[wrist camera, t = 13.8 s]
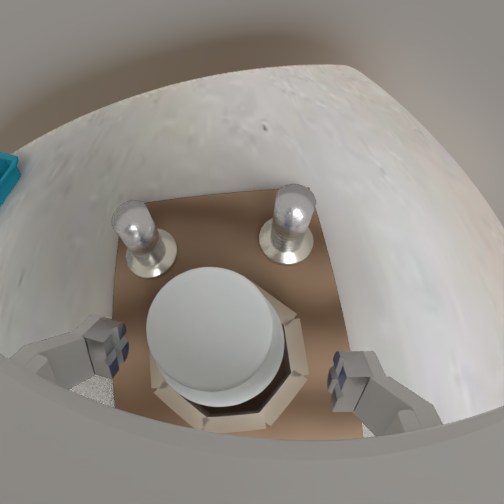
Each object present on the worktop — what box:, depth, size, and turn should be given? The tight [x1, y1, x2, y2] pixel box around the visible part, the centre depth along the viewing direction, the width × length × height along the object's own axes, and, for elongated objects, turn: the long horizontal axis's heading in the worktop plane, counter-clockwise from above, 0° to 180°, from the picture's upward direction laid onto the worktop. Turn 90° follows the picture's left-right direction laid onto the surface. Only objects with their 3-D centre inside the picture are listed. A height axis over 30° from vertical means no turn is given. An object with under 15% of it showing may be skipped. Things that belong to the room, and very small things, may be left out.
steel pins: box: [112, 184, 316, 279], centre depth 18 cm, size 4×14×5 cm, turn 97°
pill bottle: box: [146, 267, 284, 407], centre depth 12 cm, size 5×5×10 cm
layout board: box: [112, 187, 363, 440], centre depth 18 cm, size 20×16×3 cm
